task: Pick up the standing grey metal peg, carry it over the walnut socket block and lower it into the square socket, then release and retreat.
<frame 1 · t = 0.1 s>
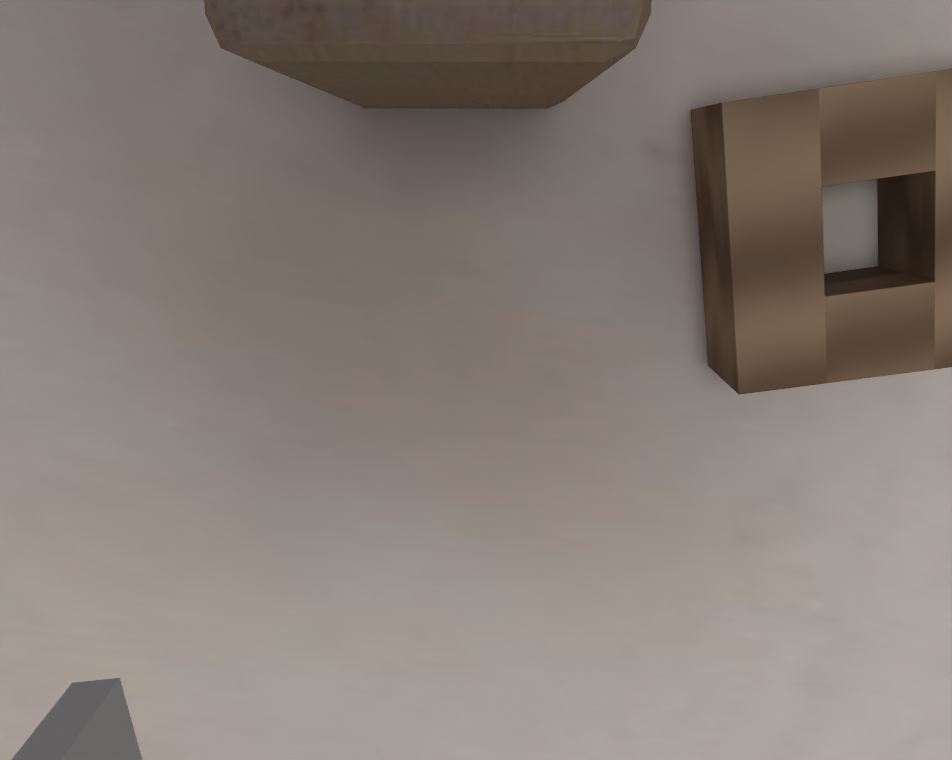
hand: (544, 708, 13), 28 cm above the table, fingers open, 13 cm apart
socket block: (829, 225, 38), on the table
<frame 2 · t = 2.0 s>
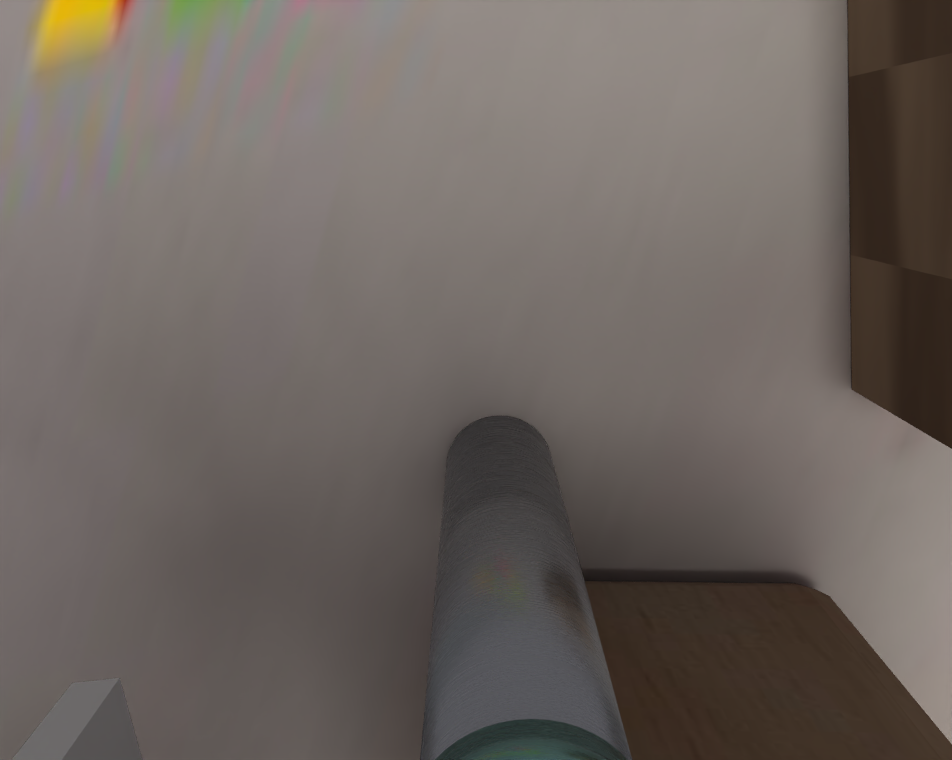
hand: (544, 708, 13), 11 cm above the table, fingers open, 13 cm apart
wooden block: (644, 709, 26), on the table
peg: (499, 466, 23), on the table
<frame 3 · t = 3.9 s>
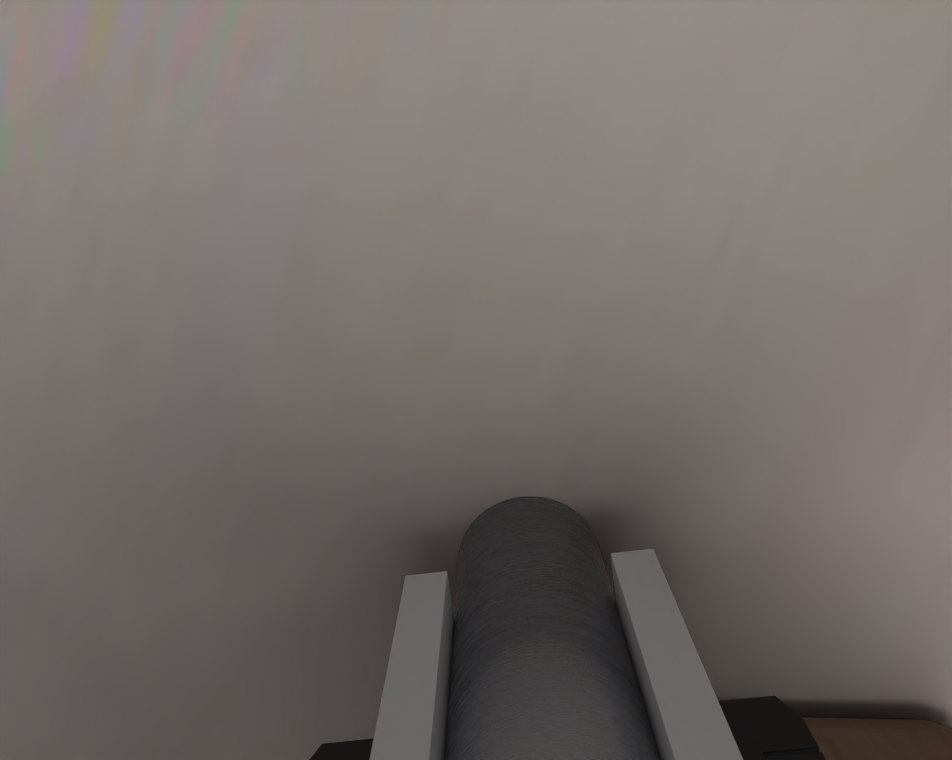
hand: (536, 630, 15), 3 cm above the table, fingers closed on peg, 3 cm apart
peg: (529, 563, 17), on the table, touching gripper
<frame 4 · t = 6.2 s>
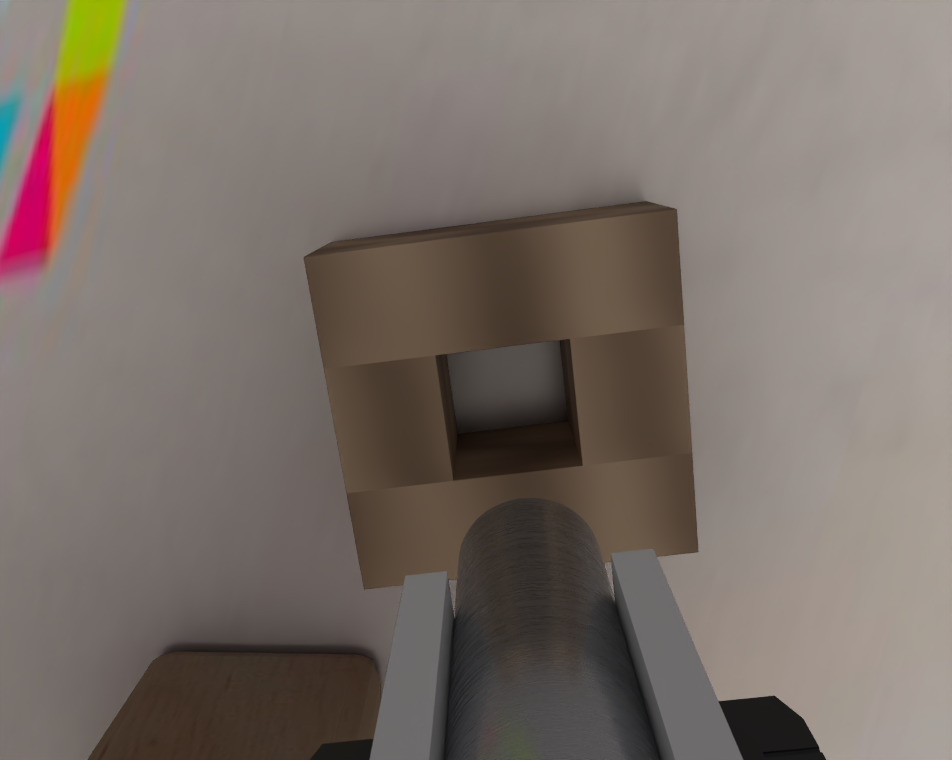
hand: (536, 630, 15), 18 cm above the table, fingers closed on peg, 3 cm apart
wooden block: (275, 737, 37), on the table
peg: (529, 563, 17), point 16 cm above the table, touching gripper
socket block: (506, 374, 32), on the table
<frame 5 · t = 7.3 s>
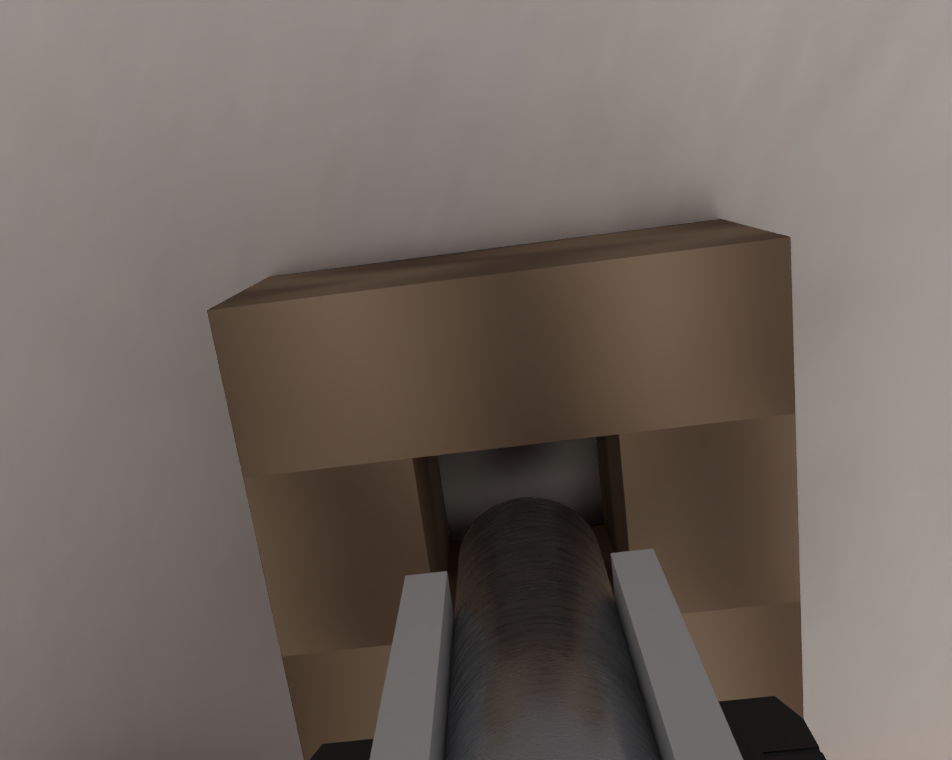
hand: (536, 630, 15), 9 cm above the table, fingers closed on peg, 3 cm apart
peg: (529, 563, 17), point 6 cm above the table, touching gripper
socket block: (518, 460, 23), on the table
when the fingers open (6 cm above the table, at t = 8.4 s): peg drops 3 cm, resting in socket block.
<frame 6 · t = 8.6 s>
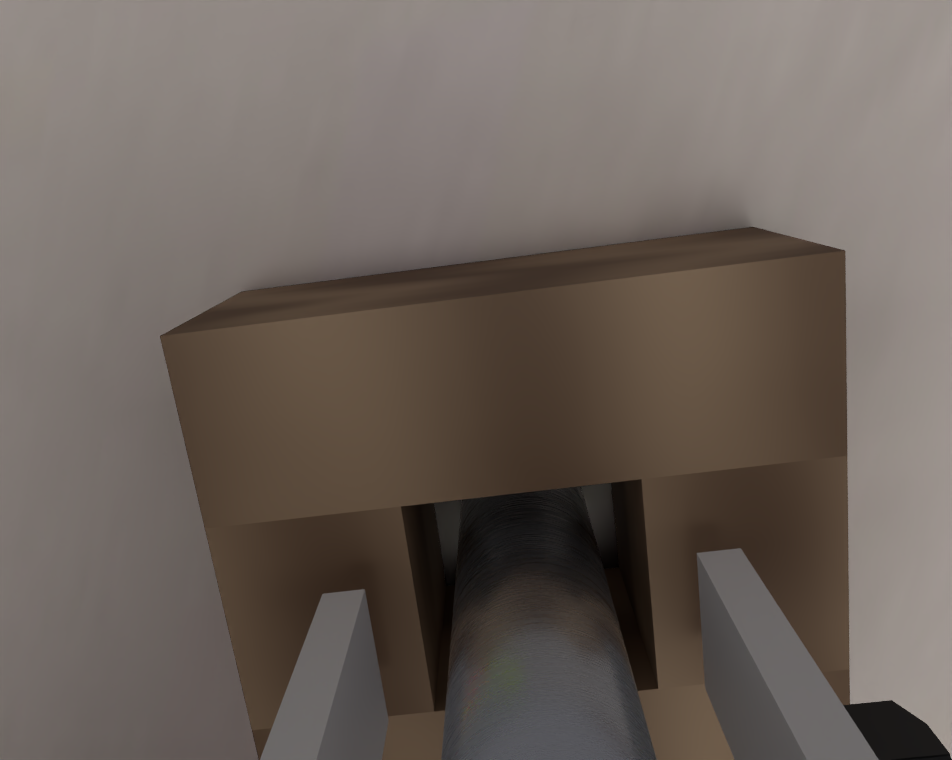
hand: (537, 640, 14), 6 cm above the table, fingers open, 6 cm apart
peg: (521, 496, 21), resting in socket block
socket block: (522, 496, 21), on the table
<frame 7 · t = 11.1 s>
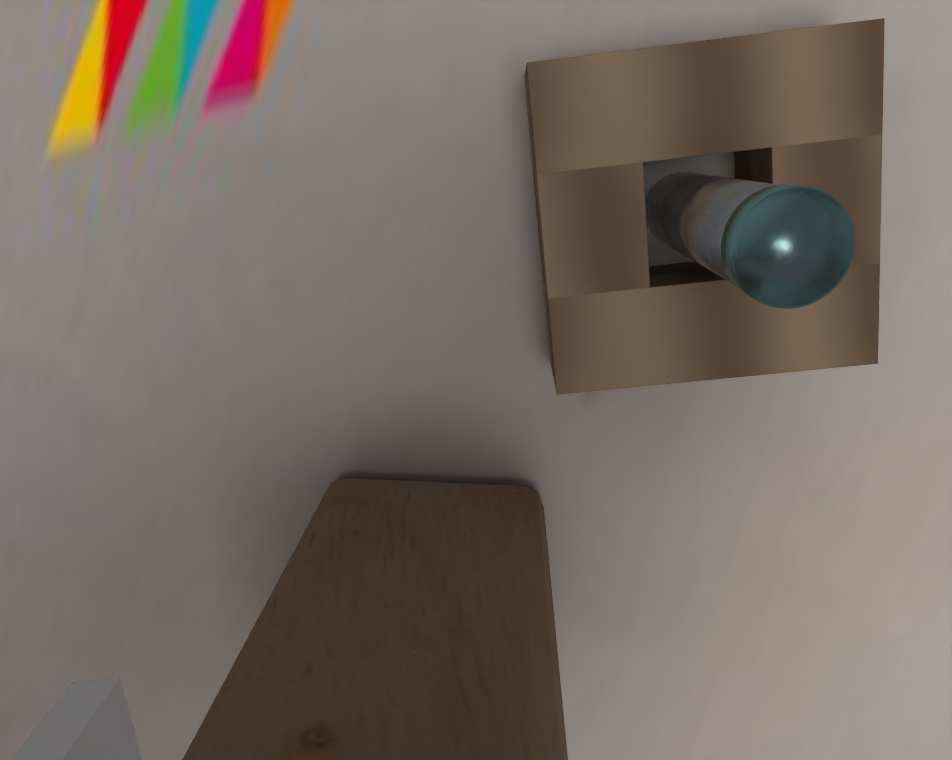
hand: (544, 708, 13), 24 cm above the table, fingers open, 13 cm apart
wooden block: (434, 568, 39), on the table
peg: (680, 209, 34), resting in socket block
socket block: (681, 209, 34), on the table
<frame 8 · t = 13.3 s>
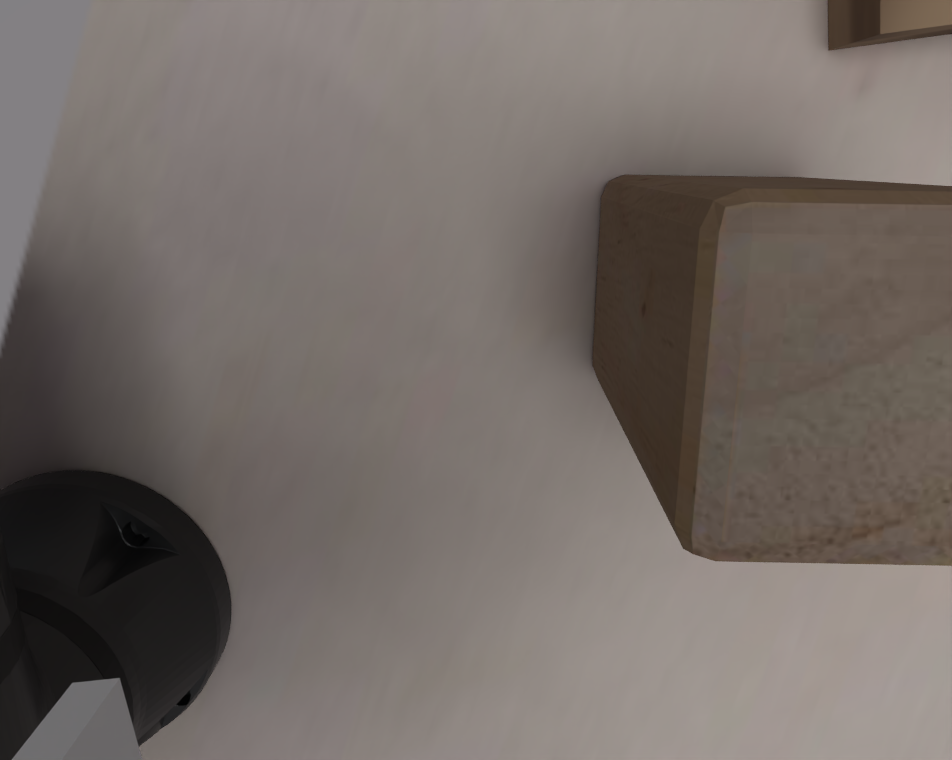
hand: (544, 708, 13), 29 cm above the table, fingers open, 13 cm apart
wooden block: (696, 281, 40), on the table
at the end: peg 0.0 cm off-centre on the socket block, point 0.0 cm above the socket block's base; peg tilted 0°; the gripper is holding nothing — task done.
